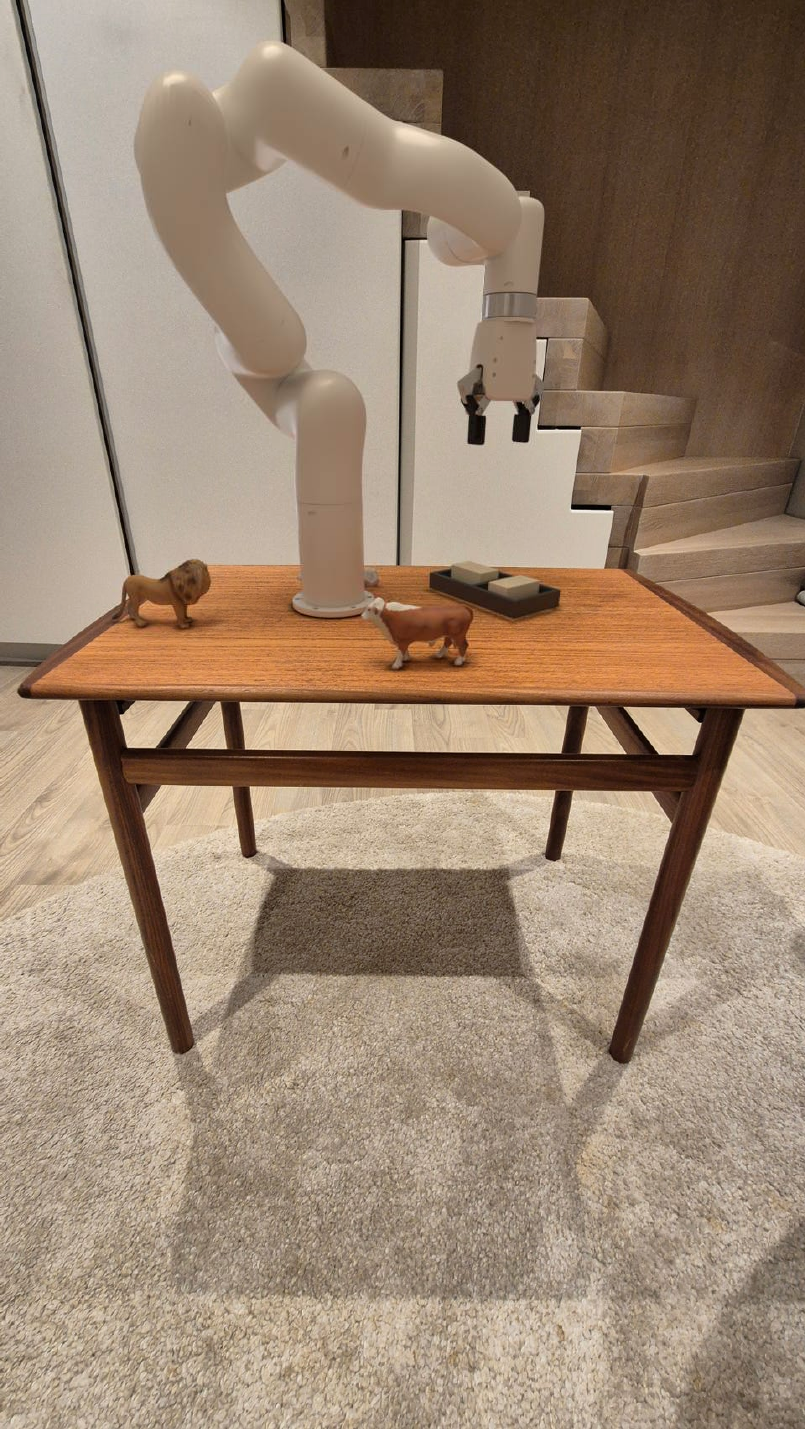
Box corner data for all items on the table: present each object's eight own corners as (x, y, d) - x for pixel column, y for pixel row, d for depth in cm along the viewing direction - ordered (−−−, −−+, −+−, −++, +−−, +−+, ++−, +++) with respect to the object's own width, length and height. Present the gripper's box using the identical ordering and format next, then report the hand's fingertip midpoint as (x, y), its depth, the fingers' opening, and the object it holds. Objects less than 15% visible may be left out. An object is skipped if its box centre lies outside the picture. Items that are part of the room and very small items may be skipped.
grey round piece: (359, 584, 103) (359, 566, 102) (381, 584, 103) (381, 567, 102) (357, 590, 100) (357, 572, 99) (379, 590, 100) (379, 572, 98)
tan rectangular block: (479, 595, 95) (480, 573, 94) (450, 585, 100) (451, 564, 99) (497, 591, 97) (499, 569, 96) (468, 581, 102) (469, 560, 101)
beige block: (486, 604, 92) (488, 581, 90) (518, 596, 96) (520, 574, 94) (505, 611, 89) (507, 588, 88) (537, 602, 93) (540, 580, 91)
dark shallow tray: (512, 622, 87) (514, 601, 85) (429, 590, 100) (429, 572, 99) (558, 609, 92) (561, 590, 90) (473, 581, 105) (474, 563, 104)
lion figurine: (221, 616, 88) (212, 554, 83) (212, 629, 83) (202, 564, 79) (119, 616, 87) (105, 554, 83) (104, 629, 82) (89, 564, 78)
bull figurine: (362, 656, 75) (360, 593, 71) (468, 654, 76) (472, 591, 72) (362, 671, 71) (360, 604, 67) (474, 668, 72) (479, 603, 68)
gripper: (530, 318, 93) (519, 440, 101) (445, 309, 83) (440, 444, 91) (569, 314, 87) (553, 443, 95) (482, 304, 78) (474, 447, 86)
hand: (498, 443), depth 93 cm, fingers open, 9 cm apart
